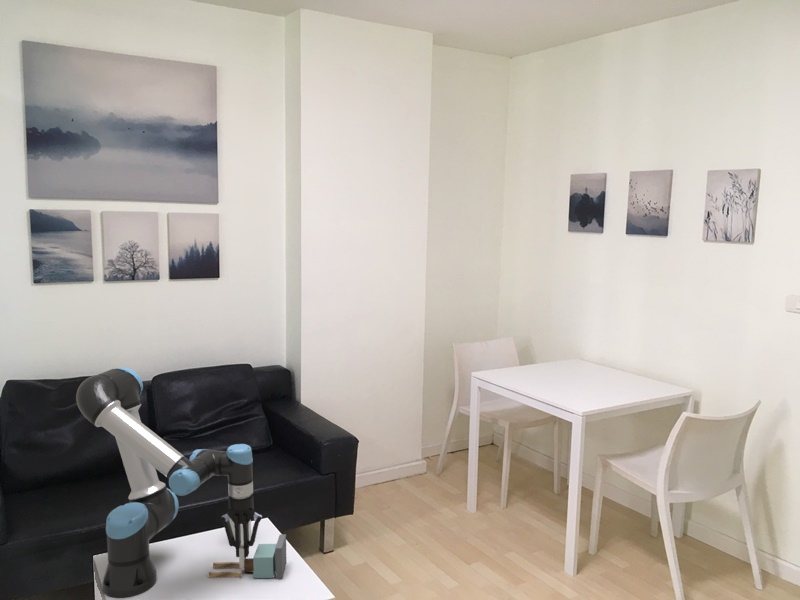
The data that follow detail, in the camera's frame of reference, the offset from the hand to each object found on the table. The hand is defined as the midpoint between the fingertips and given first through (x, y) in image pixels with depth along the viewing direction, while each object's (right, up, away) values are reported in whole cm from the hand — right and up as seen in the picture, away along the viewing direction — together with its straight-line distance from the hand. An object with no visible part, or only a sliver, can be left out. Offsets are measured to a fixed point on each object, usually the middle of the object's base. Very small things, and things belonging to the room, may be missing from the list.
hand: (242, 566), depth 204 cm
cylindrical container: (-6, 0, +20) cm, 21 cm away
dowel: (+5, -2, 0) cm, 5 cm away
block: (+7, -2, 0) cm, 7 cm away
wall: (+12, -2, +1) cm, 12 cm away
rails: (-5, -2, 0) cm, 5 cm away
